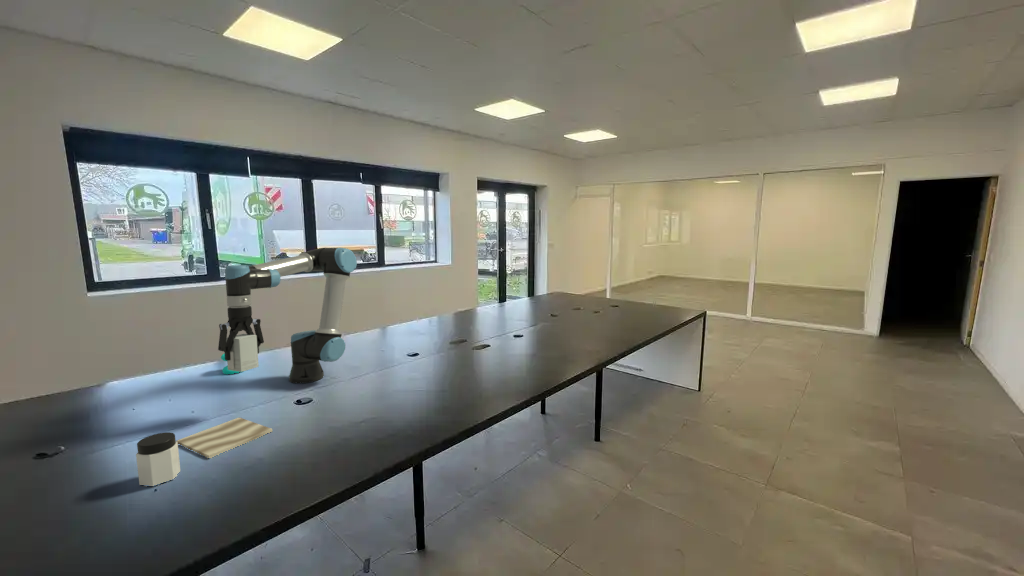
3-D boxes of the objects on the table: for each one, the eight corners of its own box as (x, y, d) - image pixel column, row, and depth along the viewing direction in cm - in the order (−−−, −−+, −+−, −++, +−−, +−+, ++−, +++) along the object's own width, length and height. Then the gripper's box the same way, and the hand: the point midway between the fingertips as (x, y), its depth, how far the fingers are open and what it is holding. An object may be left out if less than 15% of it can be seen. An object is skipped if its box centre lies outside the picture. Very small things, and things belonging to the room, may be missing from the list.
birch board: (176, 444, 135) (175, 440, 135) (239, 420, 153) (239, 417, 152) (209, 459, 126) (209, 455, 126) (272, 432, 144) (272, 428, 143)
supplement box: (259, 366, 157) (257, 334, 156) (240, 372, 150) (238, 339, 149) (245, 364, 160) (243, 333, 158) (226, 370, 153) (224, 337, 151)
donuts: (233, 356, 200) (215, 355, 202) (235, 375, 202) (217, 374, 203) (249, 350, 210) (232, 349, 211) (250, 369, 211) (233, 368, 213)
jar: (177, 466, 122) (173, 428, 120) (183, 477, 117) (179, 437, 115) (137, 480, 115) (132, 440, 113) (142, 491, 110) (137, 450, 108)
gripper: (214, 311, 142) (218, 374, 144) (272, 303, 160) (275, 360, 162) (202, 309, 145) (207, 371, 148) (261, 302, 163) (264, 357, 166)
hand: (243, 365), depth 155 cm, fingers closed on supplement box, 8 cm apart
